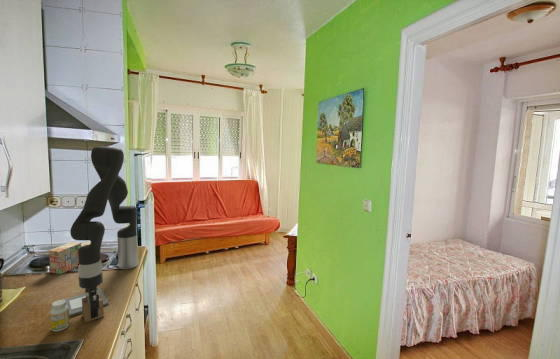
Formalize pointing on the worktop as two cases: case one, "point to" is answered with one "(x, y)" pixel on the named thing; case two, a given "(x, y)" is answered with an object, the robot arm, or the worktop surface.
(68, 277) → the worktop surface
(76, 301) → the grey flat plate
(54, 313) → the supplement bottle
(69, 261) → the colorful cardboard box
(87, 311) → the tan wooden block
